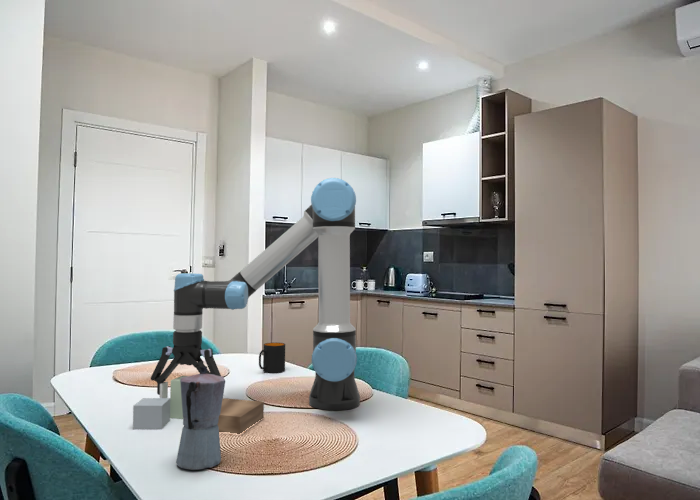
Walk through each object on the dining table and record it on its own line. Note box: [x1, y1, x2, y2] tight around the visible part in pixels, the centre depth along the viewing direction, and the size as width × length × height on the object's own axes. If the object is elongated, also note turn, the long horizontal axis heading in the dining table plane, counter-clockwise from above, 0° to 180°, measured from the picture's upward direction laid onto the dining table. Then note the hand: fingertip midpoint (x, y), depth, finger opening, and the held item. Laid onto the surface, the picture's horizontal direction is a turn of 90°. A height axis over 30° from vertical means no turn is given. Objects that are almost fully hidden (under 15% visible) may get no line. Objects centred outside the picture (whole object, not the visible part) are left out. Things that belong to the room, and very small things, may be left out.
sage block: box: [169, 375, 188, 420], centre depth 139 cm, size 6×6×10 cm
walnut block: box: [217, 397, 265, 434], centre depth 132 cm, size 14×14×5 cm
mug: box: [258, 342, 286, 374], centre depth 195 cm, size 8×12×10 cm
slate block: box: [132, 397, 171, 431], centre depth 131 cm, size 7×7×6 cm
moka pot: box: [175, 365, 226, 471], centre depth 106 cm, size 10×15×20 cm, turn 2°
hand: (185, 408), depth 139 cm, fingers open, 13 cm apart
